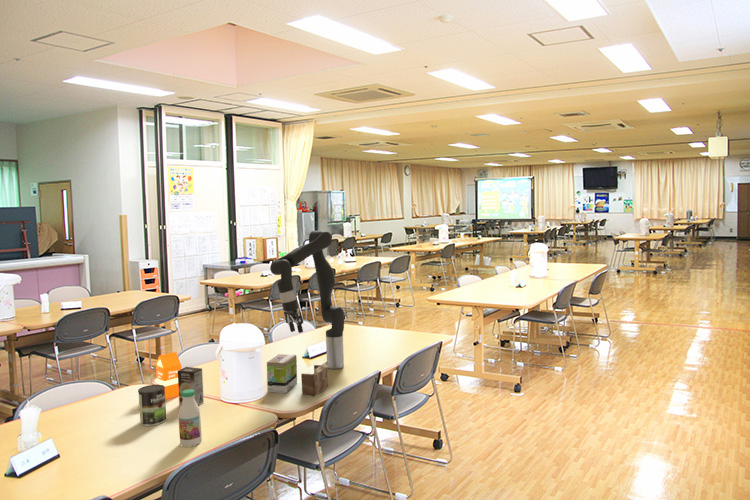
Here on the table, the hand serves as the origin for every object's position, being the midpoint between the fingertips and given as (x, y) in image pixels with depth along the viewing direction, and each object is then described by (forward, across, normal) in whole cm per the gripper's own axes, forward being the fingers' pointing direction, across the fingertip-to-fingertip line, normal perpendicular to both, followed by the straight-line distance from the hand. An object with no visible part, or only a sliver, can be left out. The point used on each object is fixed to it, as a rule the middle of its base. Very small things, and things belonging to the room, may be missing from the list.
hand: (297, 332), depth 264 cm
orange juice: (+14, +30, +58) cm, 66 cm away
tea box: (+25, +5, +12) cm, 28 cm away
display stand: (+28, -9, +2) cm, 29 cm away
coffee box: (+17, +11, +54) cm, 57 cm away
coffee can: (+15, +1, +72) cm, 74 cm away
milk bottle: (+19, -31, +67) cm, 76 cm away
